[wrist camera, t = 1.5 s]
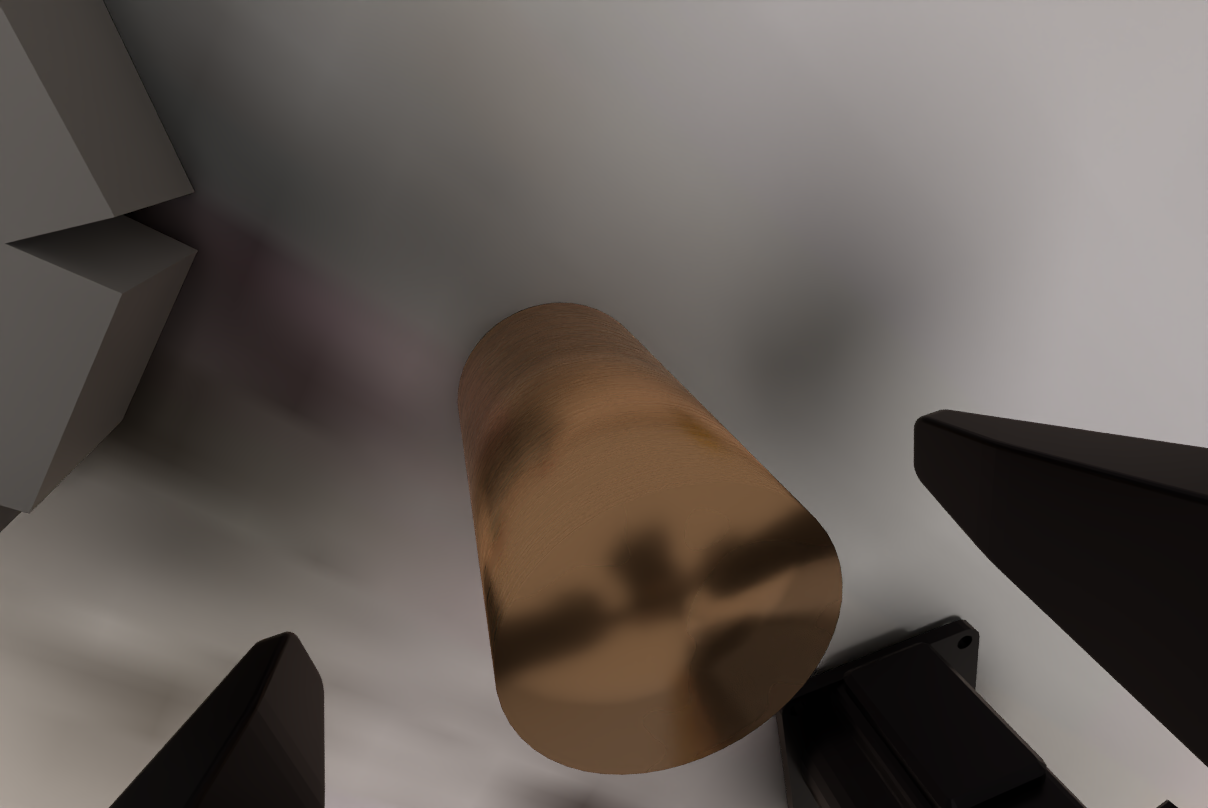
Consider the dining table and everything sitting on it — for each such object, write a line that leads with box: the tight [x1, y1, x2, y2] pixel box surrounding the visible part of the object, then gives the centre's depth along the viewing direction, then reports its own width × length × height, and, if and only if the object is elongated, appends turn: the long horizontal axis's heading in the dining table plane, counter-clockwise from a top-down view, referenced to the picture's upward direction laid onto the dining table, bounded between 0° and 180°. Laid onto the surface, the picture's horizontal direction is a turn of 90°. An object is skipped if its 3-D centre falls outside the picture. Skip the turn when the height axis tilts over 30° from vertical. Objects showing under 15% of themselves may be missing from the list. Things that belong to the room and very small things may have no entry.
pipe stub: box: [458, 303, 842, 775], centre depth 10 cm, size 4×4×7 cm
